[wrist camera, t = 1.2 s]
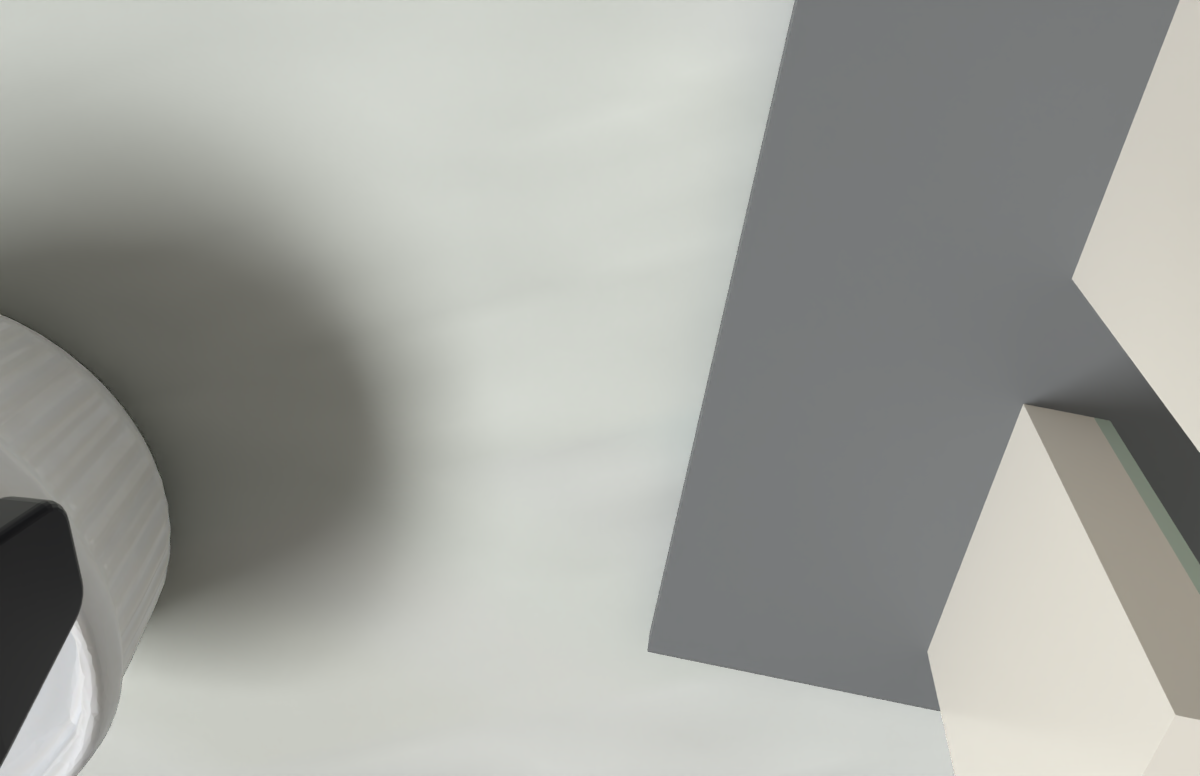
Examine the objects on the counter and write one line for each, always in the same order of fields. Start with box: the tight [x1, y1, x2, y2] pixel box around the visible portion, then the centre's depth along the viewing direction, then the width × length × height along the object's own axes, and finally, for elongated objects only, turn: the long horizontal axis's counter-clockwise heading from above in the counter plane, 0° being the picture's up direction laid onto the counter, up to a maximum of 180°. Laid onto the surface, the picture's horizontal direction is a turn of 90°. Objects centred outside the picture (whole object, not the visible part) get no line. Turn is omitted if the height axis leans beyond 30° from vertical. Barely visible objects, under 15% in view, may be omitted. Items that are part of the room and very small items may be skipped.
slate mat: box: [648, 0, 1200, 711], centre depth 19 cm, size 16×18×1 cm
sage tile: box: [927, 404, 1200, 776], centre depth 18 cm, size 2×6×8 cm, turn 171°
